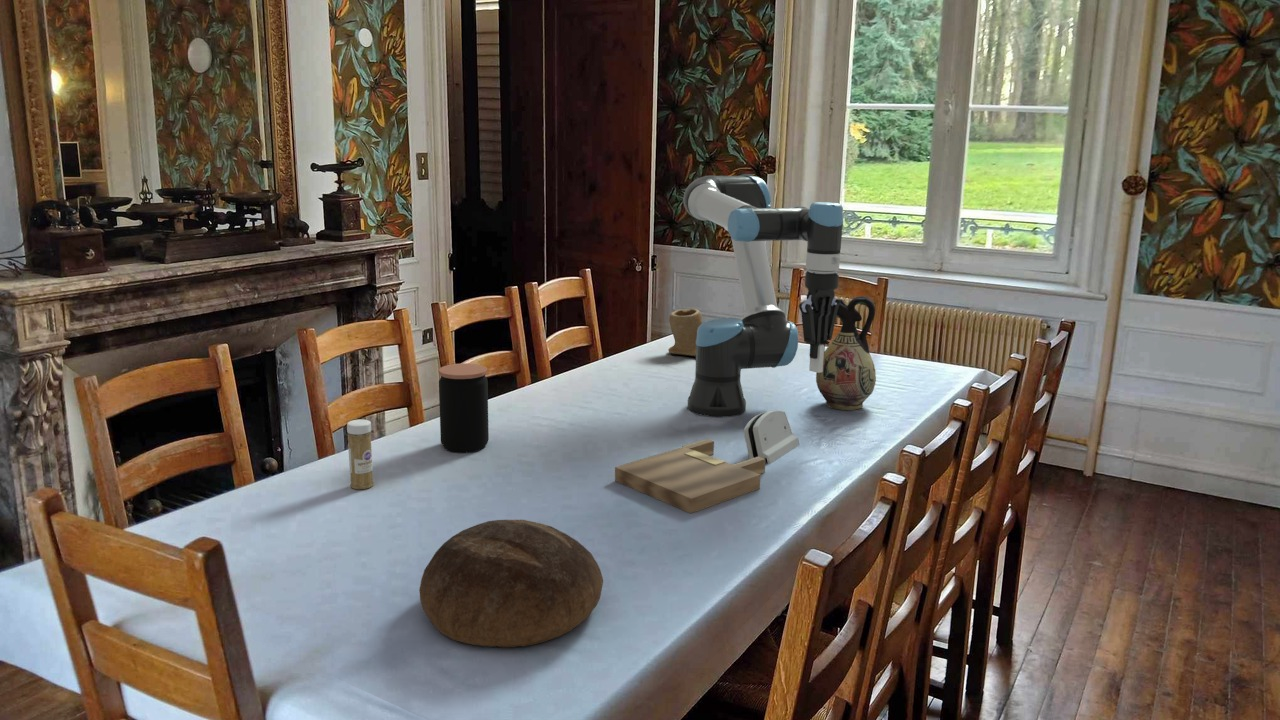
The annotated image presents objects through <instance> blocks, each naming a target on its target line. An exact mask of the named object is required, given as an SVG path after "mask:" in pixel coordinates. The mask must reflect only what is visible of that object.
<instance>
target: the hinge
mask: <svg viewBox="0 0 1280 720" xmlns="http://www.w3.org/2000/svg"><path fill="white" fill-rule="evenodd" d="M743 433H744V434H743V435H744V439H745V445H746V450H747V455H748V460H749V459H752V458H755V457H758V456H759V457H761V458H764V459H766V460H767V461H766V462H767V464H768V465H771V464H772V463H774V462H775V461H777V460H778V459H780V458H781V456H782V457H783V456H785V455H786V454H788V453H789V452H790V451H792V450H794V449H795V448H797V447H799V446H800V445H801V443H800V440H799V438H798V436H797V435H795V434H793V432H792V429H791V426H790V422H789V420H788V415H787V413H786V411H782V410H769V411H764V412H761V413H759V414H757V415H755V416H754V417H752V418H751V419H750V420H749V421H748V422H747V423H746V425H745V427H744V429H743Z"/></svg>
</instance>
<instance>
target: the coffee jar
mask: <svg viewBox="0 0 1280 720" xmlns="http://www.w3.org/2000/svg"><path fill="white" fill-rule="evenodd" d="M486 374H488V368H487V367H486V366H484V365H481V364H478V363H477V364H476V363H468V362H467V363H453V364H448V365H444V366H441V367H439V369H438V375H439V376H440V378H439V380H438V393H439V394H438V398H439V402H438V403H439V404H438V405H439V428H440V443H441V445H442V447H443V448H444V450H446V451H448V452H451V453H459V454H460V453H461V454H462V453H463V454H465V453H466V452H468V453H474V452H478V451H481V450H483V449H484V448H485V447H486V446H487V444H488V442H489V438H490V437H489V435H490V433H489V395H488V394H489V393H488V391H489V389H488V388H489V387H488V381H489V379H488V378H487V377H486ZM466 454H467V453H466Z"/></svg>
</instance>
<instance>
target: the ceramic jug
mask: <svg viewBox="0 0 1280 720" xmlns="http://www.w3.org/2000/svg"><path fill="white" fill-rule="evenodd" d="M840 300H841V303H840V305H839V308H838V311H837V315H836V318H839V320H840V321H841V323H842V325H841V328H840V330H839V331H838V333H837V334H836V336H834V338H833V339H832V341H830V343H829V344H828V346H827V348H826V349H825V350H824V351H825V352H824V357H823V372H820V373H817V372H815V377H816V378H815V383H816V385H817V389H818V391H819V393H820V394H821V396H822V397H823V399H824V400H825V404H826V406H827V407H828V408H830V409H833V408H834V410H840V411H854V410H858V409H859V410H860V409H862V408H863V407H864V405H863V404H864V402H865V401H866V400H868V398H869V397H870V396H871V395H872V394H873V392H874V389H875V386H876V382H877V376H876V375H877V373H876V367H875V364H874V360H873V358H872V356H871V353H870V350H869V349H870V348H869V344H868V343H869V342H868V338H867V335H868V333H869V331H870V328H871V326H872V323H873V322H874V318H875V317H876V315H875V314H876V305H875V302H874V301H873V300H872V299H871V298H870V297H867V296H856V297H853V298H852V299H851V300H850V301H849V303H848V304H846V302H845V301H844V299H842V298H840ZM857 305H861V306H865V307H867V309H868V315H867V318H866V320H865V323H864V325H863V327H862V330H861V331H860V333H859V331H858V329H857V326H856V323H857V322H861V321H862V320H863V317H862V315H861V314H860V312H859V311H858V310H857V309H856V307H855V306H857Z"/></svg>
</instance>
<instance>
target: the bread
mask: <svg viewBox="0 0 1280 720" xmlns="http://www.w3.org/2000/svg"><path fill="white" fill-rule="evenodd" d="M603 585H604V579H603V575H602V571H601V568H600V566H599V564H598V562H597V561H596V559H595V558H594V556H593V554H592V553H591V552H590V551H589V549H587V548H586V547H585V546H584V545H583V544H581V543H580V542H579V541H578V540H576V539H575V538H574V537H572V536H570V535H569V534H567V533H565V532H563V531H561V530H559V529H557V528H555V527H553V526H552V525H549V524H548V525H547V524H544V523H541V522H540V523H539V522H536V521H531V520H527V519H495V520H488V521H485V522H482V523H478V524H476V525H473V526H469V527H468V528H464V529H463V530H461V531H459V532H458V533H456V534H455V535H453V536H451V537H450V538H449V539H448V540H446V541H445V542H444V543H442V544H441V546H440V547H439V548H438V549H437V550H436V551H435V553H434V554H433V556H432V558H431V559H430V561H429V562H428V563H427V565H426V567H425V568H424V570H423V573H422V577H421V580H420V585H419V590H418V591H419V600H420V603H421V607H422V609H423V612H424V613H425V614H426V616H427V618H428V619H429V620H430V622H431V623H432V625H433V626H434V627H435V628H436V629H437V630H438V632H440V633H441V634H442V635H444V636H446V637H448V638H449V639H452V640H453V641H457V642H460V643H464V644H468V645H472V646H479V645H482V647H487V646H498V647H497V648H517V647H516V646H522V647H527V646H526V645H530V646H533V645H537V644H540V643H545V642H548V641H550V640H554V639H556V638H559V637H561V636H562V635H565V634H567V633H569V632H571V631H573V629H575V628H576V627H578V626H580V624H582V623H583V622H584V621H585V620H586V619H587V618H588V617H589V615H591V614H592V612H593V611H594V610H595V608H596V607H597V606H598V604H599V602H600V599H601V596H602V590H603Z"/></svg>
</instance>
